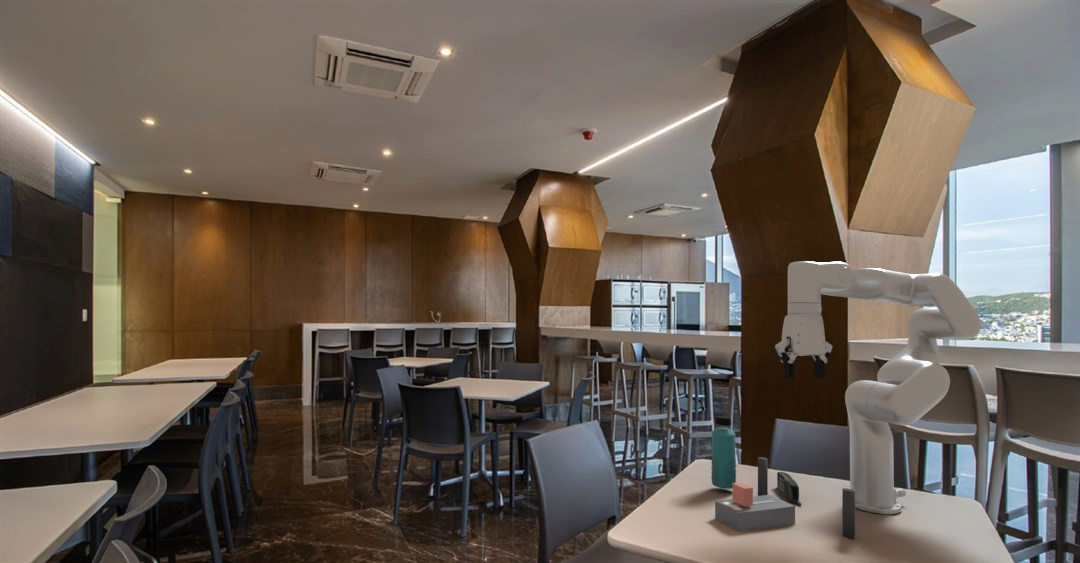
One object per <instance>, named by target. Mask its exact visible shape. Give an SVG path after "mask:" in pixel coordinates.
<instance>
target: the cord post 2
mask: <svg viewBox="0 0 1080 563" xmlns="http://www.w3.org/2000/svg"><path fill="white" fill-rule="evenodd" d="M841 490H842V491H841V492H842V496H841V498H842V501H841V502H842V507H841V508H842V511H841V512H842V518H841V519H842V537H843V538H845V539H849V540H855V539H856V508H855V491H854V490H852V489H850V488H847V487H844V488H842V489H841Z"/></svg>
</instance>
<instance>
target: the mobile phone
mask: <svg viewBox="0 0 1080 563" xmlns="http://www.w3.org/2000/svg"><path fill="white" fill-rule="evenodd" d="M776 475H777V476H776V477H777V478H776V479H777V480H776V481H777V484H776V485H777V488H778V489H779V491H780V492H781V493H782V494H783V495H785V496H784V497H785V499H787V501H790V502H795V503H796V504H797V505H798V506H799V507H800V506H802V503H801V501H800V487H799V485H798V484H797V482H796V480H795V479H793V478H792V476H791V475H790V474H788V473H786V472H784V471H778V472H776Z"/></svg>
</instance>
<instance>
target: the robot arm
mask: <svg viewBox="0 0 1080 563" xmlns="http://www.w3.org/2000/svg"><path fill="white" fill-rule="evenodd" d="M822 295H823V296H824V295H826V296H831V297H832V296H833V297H842V298H848V299H849V298H850V299H855V300H864V301H865V300H866V301H872V302H875V301H876V302H881V303H888V304H894V305H900V306H907V307H921V308H918V309H916V310H914V311H912V312H911V314H910V315H909V317H908V319H907V334H908V337H907V338H908V339H907V344H906V346H905V347H903V348H902V349H901V350H900V351H899V352H898V353H897V354H895V355H894V356H893V357H891V358H890V359H889V360H887V362H885V363H884V364H883V365H882V366H881V367H880V368H879V370H878V371H877V376H876V380H877V381H875V380H865V379H864V380H857V381H854V382H852V383H851V384H849V386H848V387H847V389H846V390H845V394H844V400H845V402H844V403H845V407H846V411H847V416H848V421H849V422H848V423H849V424H848V425H849V489H852V490H854V491H855V509H858V510H860V511H865V512H869V513H873V514H874V513H875V514H882V515H893V514H895V515H896V514H898V513H901V511H902V505H901V504H900V503H899V502H897V499H898V498H901V497H902V498H903V497H905V496H906V495H907V493H906V490H905V489H903V488H895V487H894V485H895V482H894V479H895V478H894V477H895V476H894V474H895V473H894V437H893V432H892V429H891V427H890V424H894V425H898V426H908V425H909V426H910V425H912V424H914V423H916V422H917V421H919V420H920V419H921V418H922V417H923V416H924V415H926V414H927V413H928V412H929V411H931V410H932V408H934V407H935V406H936V405H937V404H939V403H940V402H941V401H942V400H943V399H944V398H945V396H946V395H947V393H948V392H949V388H950V385H951V378H950V375H949V372H948V371H947V369H946V368H945V367H944V366H943V365H942V364H941V361H942V356H941V352H940V350H939V346H938V341H937V340H948V341H949V340H950V341H968V340H972V339H974V338H975V337H976V336H978V335H979V333H980V331H981V329H982V328H981V327H982V325H981V324H982V323H981V319H980V315H979V313H978V312H977V311H976V309H975V307H974V306H973V305H972V303H971V302H970V301H969V299H968V298H967V297H966V295H965V294H964V292H963V291H962V289H961V288H960V287H959V286H958V285H957V284H956V282H955V281H954V280H952V279H951V278H950V277H948V276H947V275H946V274H943V273H942V272H934V273H933V272H932V273H931V272H930V273H919V274H918V273H916V274H915V273H914V274H913V273H905V272H901V271H893V270H888V269H883V268H875V267H874V268H873V267H872V268H871V267H869V268H868V267H867V268H866V267H865V268H855V269H854V268H853V267H852V266H851V265H850V264H848V263H846V262H843V261H830V262H816V261H807V260H804V261H793V262H790V263H789V264H788V266H787V315H785V316H784V318H783V325H782V331H781V341H779V342H778V343H775V345H774V348H775V350H776V352H777V356H778V357H779V359H780V362H781V363H782V368H783V369H782V377H783V379H785V380H789V381H790V380H791V381H794V380H795V379H796V364H795V363H794V361H795V360H796V358H797V356H800V357H803V356H804V357H812V358H813V359H814V361H813V364H812V367H813V368H812V369H813V370H812V371H813V372H812V374H813V375H812V376H813V378H814V379H819V380H825V379H826V364H827V363H828V359H829V358H830V357H831V352H832V349H833V345H832V344H830V343H829V342H828V341H826V335H825V326H824V325H825V324H824V319H823V316H822V311H823V307H822Z"/></svg>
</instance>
